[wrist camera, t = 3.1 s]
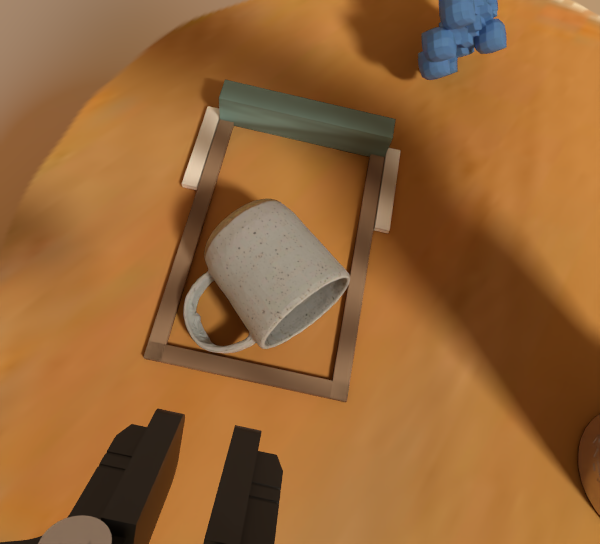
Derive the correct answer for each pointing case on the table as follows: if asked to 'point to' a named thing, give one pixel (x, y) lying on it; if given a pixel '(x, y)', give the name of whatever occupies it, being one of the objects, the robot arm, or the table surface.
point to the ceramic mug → (266, 276)
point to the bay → (232, 112)
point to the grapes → (460, 35)
